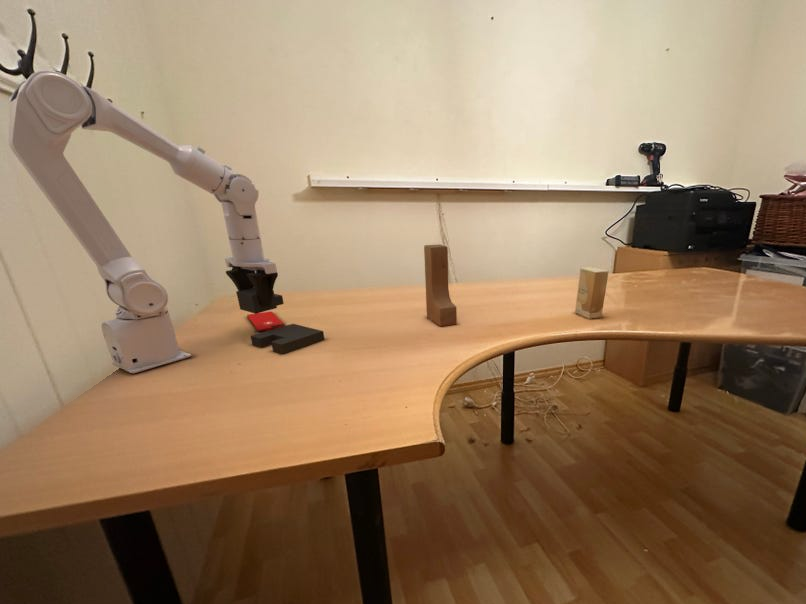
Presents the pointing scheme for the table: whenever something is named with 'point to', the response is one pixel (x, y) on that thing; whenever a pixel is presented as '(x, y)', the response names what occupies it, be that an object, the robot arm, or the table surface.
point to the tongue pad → (256, 301)
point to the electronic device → (265, 321)
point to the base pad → (288, 338)
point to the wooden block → (438, 286)
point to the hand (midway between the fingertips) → (257, 303)
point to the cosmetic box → (591, 292)
